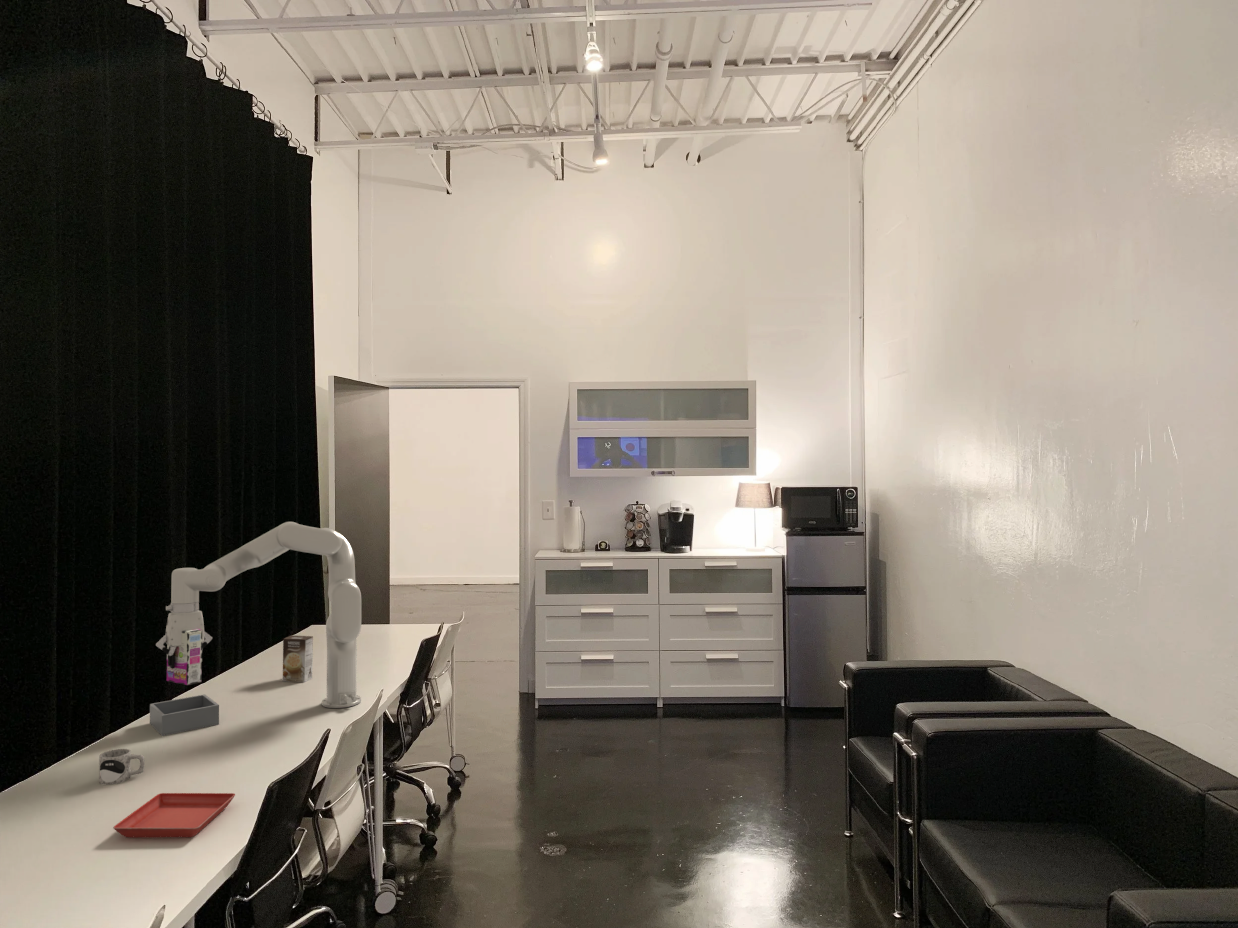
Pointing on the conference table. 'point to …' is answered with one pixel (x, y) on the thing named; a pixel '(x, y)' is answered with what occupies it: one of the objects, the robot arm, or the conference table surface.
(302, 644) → the coffee box
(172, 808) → the plant saucer
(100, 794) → the conference table surface
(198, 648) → the candy bar box
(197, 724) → the bin
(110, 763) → the mug
